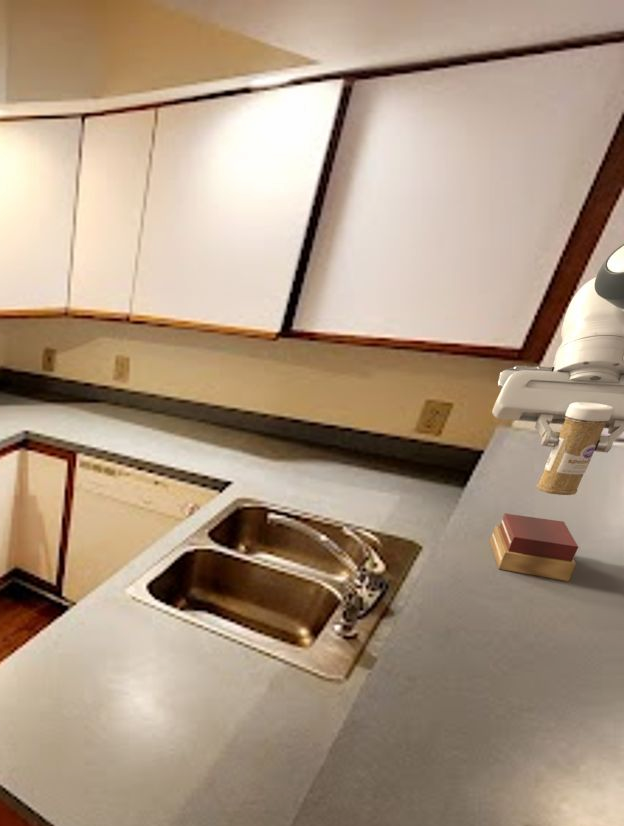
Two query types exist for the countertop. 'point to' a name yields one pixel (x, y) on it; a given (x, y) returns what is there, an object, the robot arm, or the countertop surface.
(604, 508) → the countertop surface
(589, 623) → the countertop surface
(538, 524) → the red and wooden block
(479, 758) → the countertop surface
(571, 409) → the sprinkles bottle
